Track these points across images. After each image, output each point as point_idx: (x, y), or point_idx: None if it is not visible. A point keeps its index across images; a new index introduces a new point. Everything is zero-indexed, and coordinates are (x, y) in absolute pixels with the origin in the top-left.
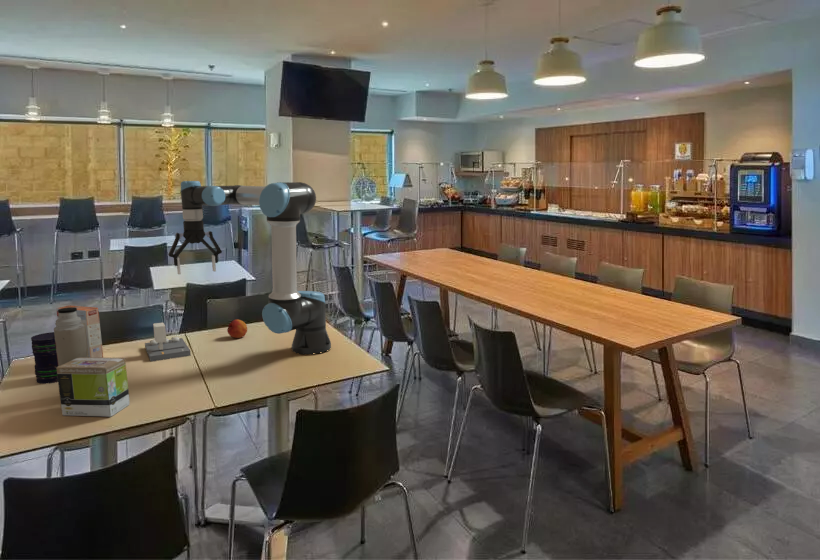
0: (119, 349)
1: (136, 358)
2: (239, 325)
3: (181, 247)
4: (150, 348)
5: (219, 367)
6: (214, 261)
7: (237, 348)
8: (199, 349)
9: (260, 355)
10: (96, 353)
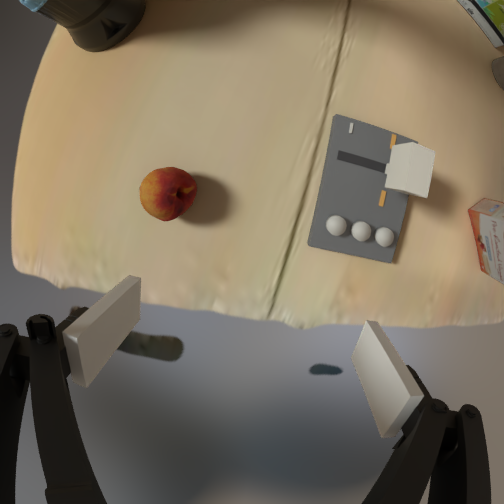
0: (421, 284)
1: None
2: (163, 170)
3: (422, 483)
4: (399, 205)
5: (309, 7)
6: (97, 307)
7: (217, 96)
8: (297, 151)
9: (203, 22)
10: (489, 206)
